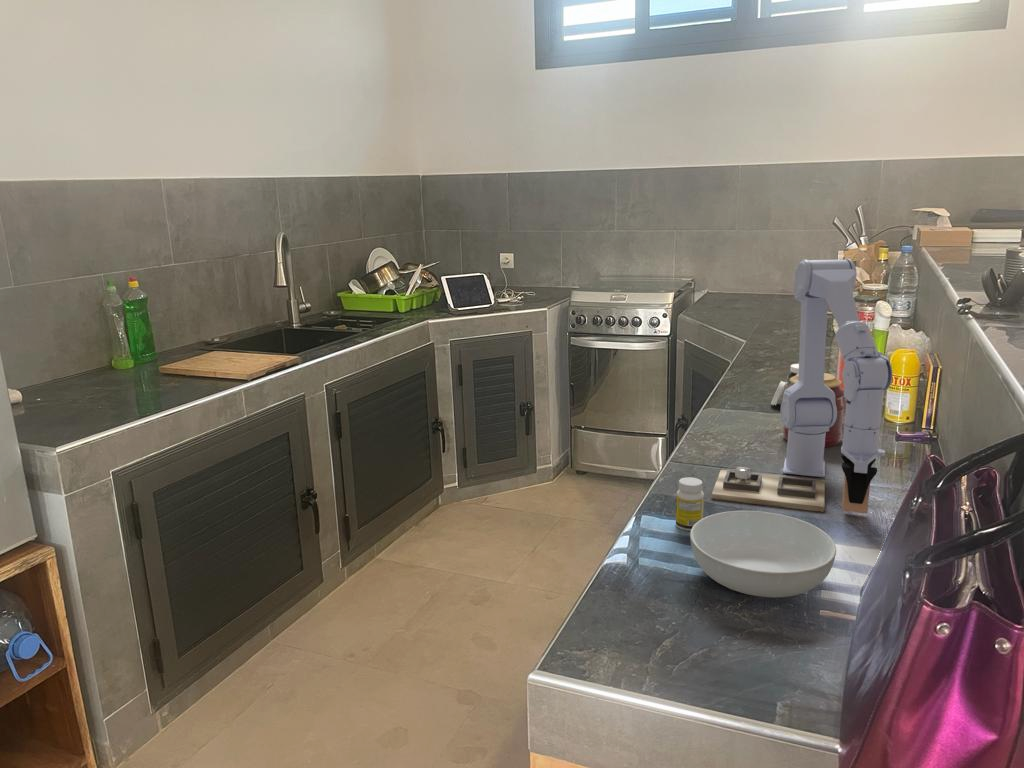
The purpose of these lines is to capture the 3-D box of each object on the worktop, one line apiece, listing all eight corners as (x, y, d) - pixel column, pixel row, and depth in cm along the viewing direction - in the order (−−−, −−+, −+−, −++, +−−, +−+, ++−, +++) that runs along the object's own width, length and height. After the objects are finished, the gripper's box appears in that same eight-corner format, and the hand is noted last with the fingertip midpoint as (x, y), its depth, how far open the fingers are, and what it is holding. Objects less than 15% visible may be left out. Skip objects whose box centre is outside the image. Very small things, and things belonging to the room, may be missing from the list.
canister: (842, 434, 186) (848, 362, 182) (839, 451, 175) (846, 374, 171) (785, 428, 192) (789, 358, 187) (778, 444, 180) (783, 369, 176)
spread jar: (822, 414, 203) (826, 370, 201) (778, 414, 204) (781, 371, 201) (806, 402, 215) (809, 360, 212) (765, 402, 215) (767, 361, 213)
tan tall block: (842, 502, 143) (845, 466, 141) (866, 505, 141) (869, 468, 140) (842, 510, 139) (845, 473, 138) (867, 513, 138) (870, 476, 136)
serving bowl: (661, 581, 119) (662, 539, 117) (733, 537, 133) (735, 500, 131) (791, 633, 104) (795, 586, 103) (856, 578, 119) (860, 536, 117)
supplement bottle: (683, 518, 141) (685, 474, 139) (707, 524, 138) (709, 480, 136) (670, 527, 137) (672, 482, 135) (695, 534, 134) (697, 488, 132)
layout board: (720, 474, 162) (721, 464, 162) (824, 485, 155) (825, 474, 155) (711, 498, 150) (712, 487, 149) (823, 512, 142) (824, 500, 142)
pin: (735, 480, 156) (736, 466, 155) (751, 482, 155) (752, 467, 154) (733, 485, 153) (734, 471, 152) (749, 487, 152) (750, 472, 151)
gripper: (890, 439, 129) (882, 516, 132) (884, 415, 142) (877, 486, 145) (843, 435, 131) (837, 511, 134) (842, 412, 144) (836, 482, 147)
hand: (855, 498), depth 140 cm, fingers closed on tan tall block, 4 cm apart
